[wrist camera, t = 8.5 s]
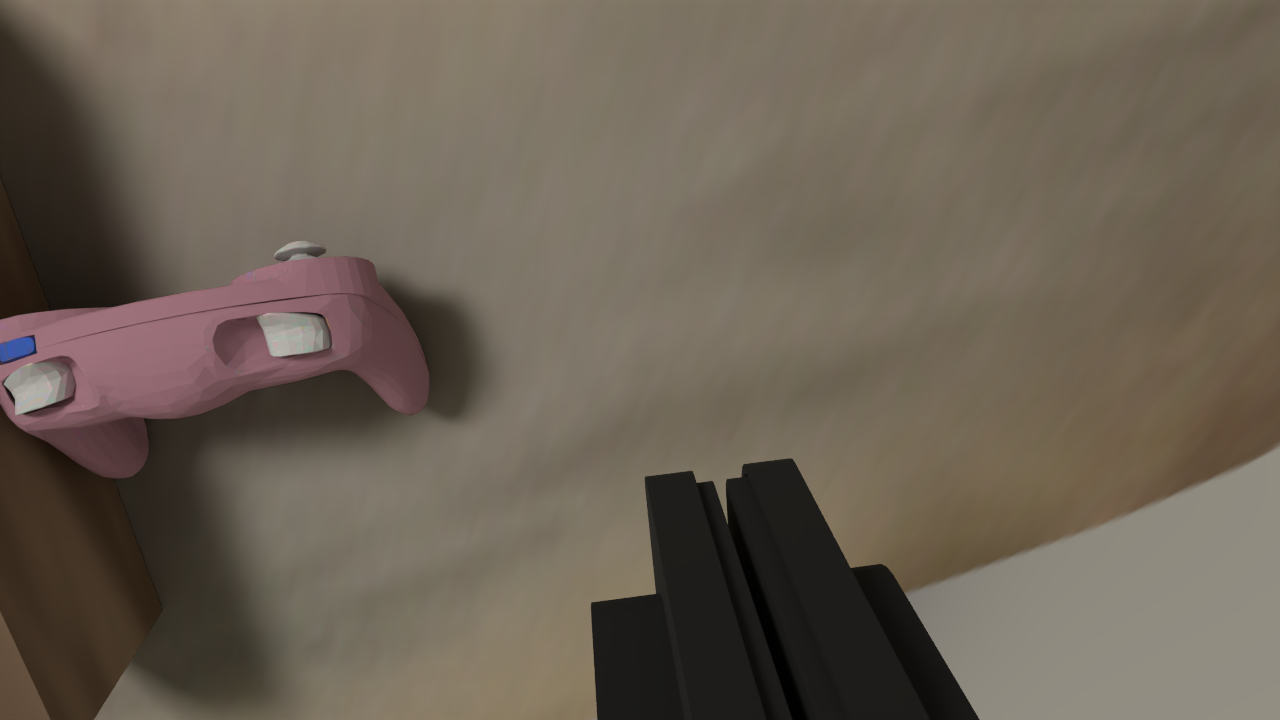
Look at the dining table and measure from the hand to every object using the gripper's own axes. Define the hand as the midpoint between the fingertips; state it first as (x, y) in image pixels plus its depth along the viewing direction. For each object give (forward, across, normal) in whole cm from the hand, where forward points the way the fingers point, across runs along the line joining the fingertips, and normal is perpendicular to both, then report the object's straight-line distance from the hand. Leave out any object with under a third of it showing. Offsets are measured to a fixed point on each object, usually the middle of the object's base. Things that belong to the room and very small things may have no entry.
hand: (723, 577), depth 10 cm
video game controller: (+16, +11, +2) cm, 20 cm away
